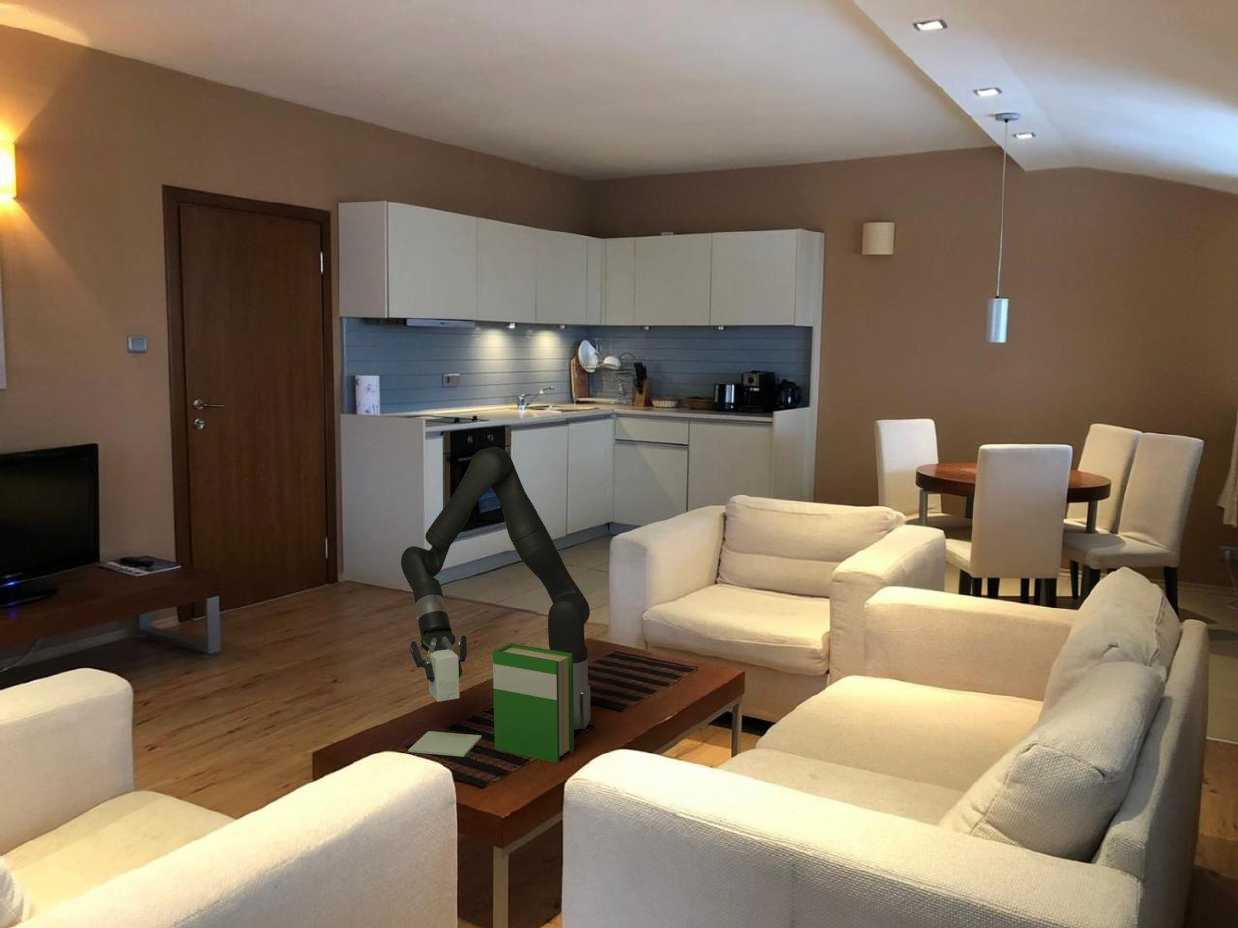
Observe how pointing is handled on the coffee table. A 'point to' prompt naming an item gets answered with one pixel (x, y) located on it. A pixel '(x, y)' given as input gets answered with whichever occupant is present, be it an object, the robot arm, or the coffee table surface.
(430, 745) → the sage mat
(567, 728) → the hardback book
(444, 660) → the small box
